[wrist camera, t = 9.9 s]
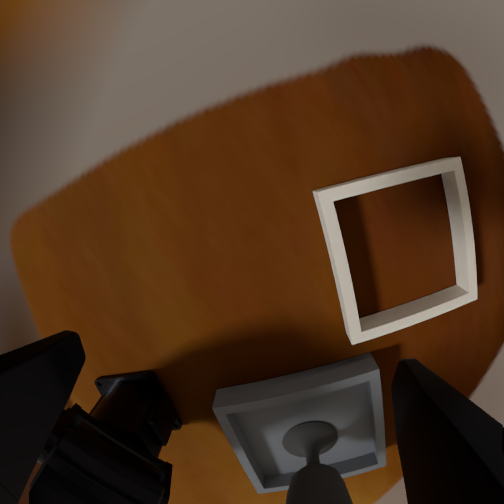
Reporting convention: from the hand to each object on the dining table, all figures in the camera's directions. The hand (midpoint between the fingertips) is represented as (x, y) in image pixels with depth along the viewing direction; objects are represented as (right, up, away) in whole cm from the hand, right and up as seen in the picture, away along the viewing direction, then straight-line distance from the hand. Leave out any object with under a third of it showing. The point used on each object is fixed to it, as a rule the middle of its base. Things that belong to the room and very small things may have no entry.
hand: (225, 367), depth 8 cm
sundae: (+6, -13, +17) cm, 22 cm away
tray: (+6, -12, +17) cm, 22 cm away
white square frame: (+11, +3, +13) cm, 18 cm away
